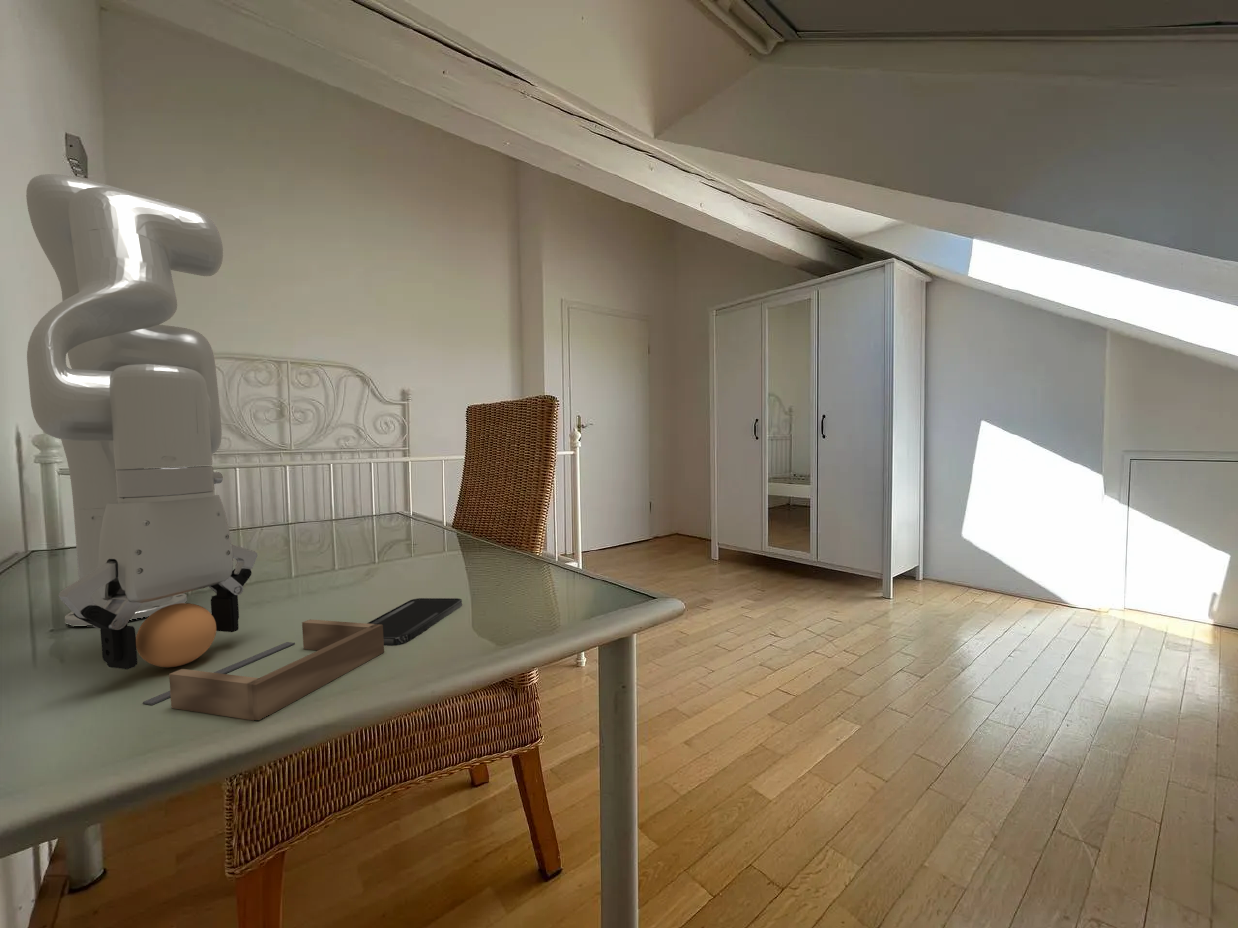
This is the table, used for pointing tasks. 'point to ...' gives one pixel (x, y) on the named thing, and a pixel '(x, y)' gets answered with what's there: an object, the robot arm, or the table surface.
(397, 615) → the phone
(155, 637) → the brown egg
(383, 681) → the table surface
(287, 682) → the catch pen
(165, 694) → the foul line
